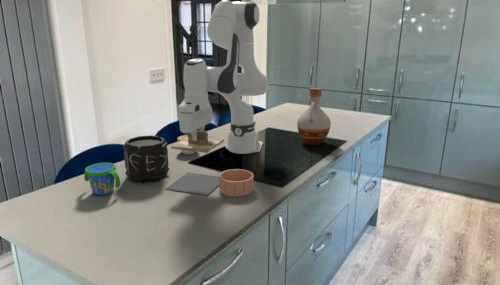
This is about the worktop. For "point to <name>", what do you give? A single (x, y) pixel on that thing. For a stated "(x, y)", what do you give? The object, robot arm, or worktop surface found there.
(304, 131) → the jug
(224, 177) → the bowl
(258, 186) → the worktop surface
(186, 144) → the lid
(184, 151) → the lidded jar
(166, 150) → the wooden barrel
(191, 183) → the mat
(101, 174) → the snack cup
